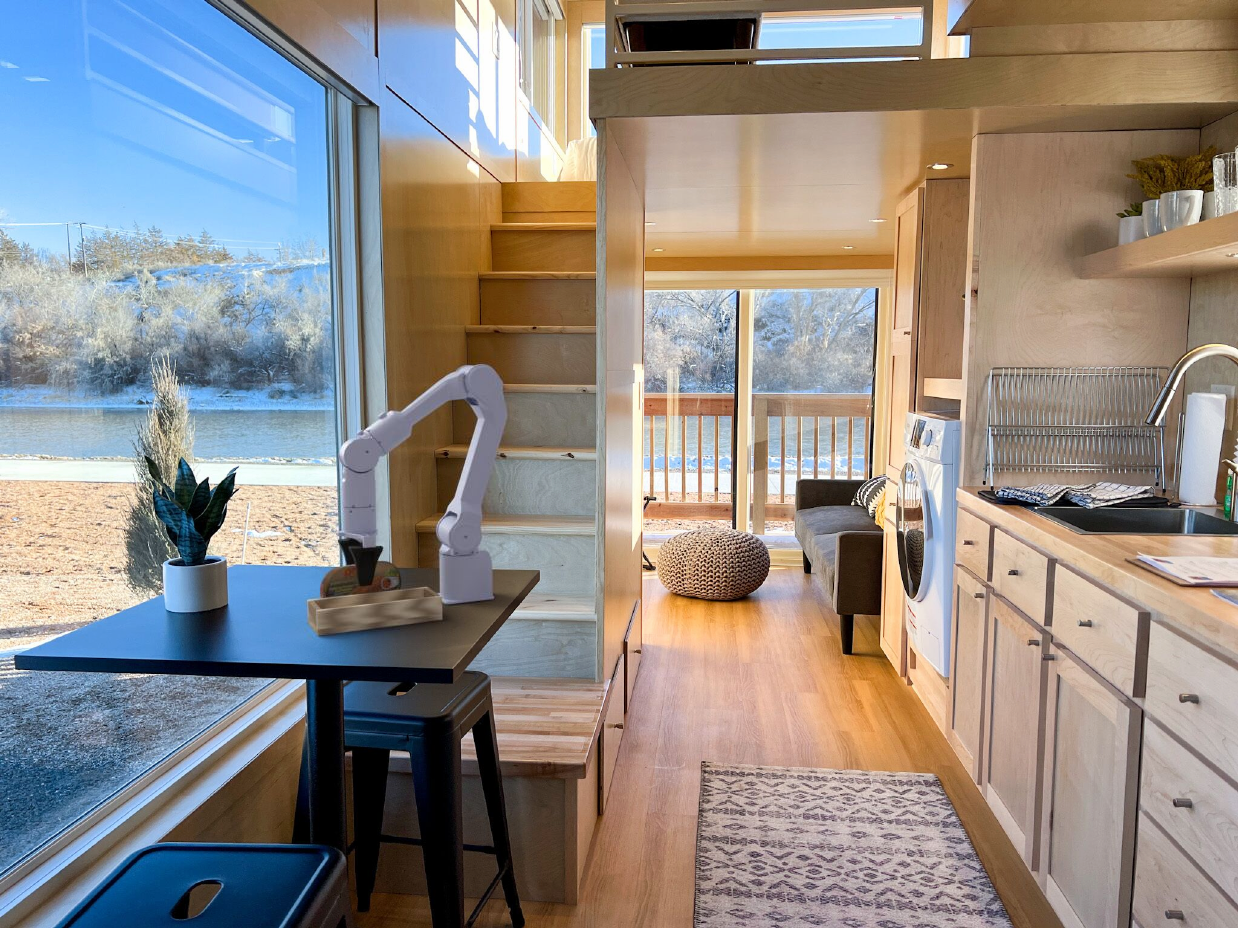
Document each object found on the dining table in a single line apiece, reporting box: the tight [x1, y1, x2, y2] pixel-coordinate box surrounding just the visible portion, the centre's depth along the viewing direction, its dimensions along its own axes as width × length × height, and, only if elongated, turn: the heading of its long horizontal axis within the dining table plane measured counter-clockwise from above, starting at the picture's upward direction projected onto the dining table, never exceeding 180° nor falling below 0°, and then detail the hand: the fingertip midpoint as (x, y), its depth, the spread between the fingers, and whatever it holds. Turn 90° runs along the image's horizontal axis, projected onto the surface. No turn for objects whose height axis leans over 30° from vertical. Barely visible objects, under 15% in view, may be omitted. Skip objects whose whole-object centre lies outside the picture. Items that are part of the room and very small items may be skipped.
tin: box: [319, 560, 402, 598], centre depth 160 cm, size 15×3×8 cm, turn 135°
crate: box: [306, 586, 443, 636], centre depth 152 cm, size 21×9×4 cm, turn 119°
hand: (360, 581), depth 160 cm, fingers open, 7 cm apart
